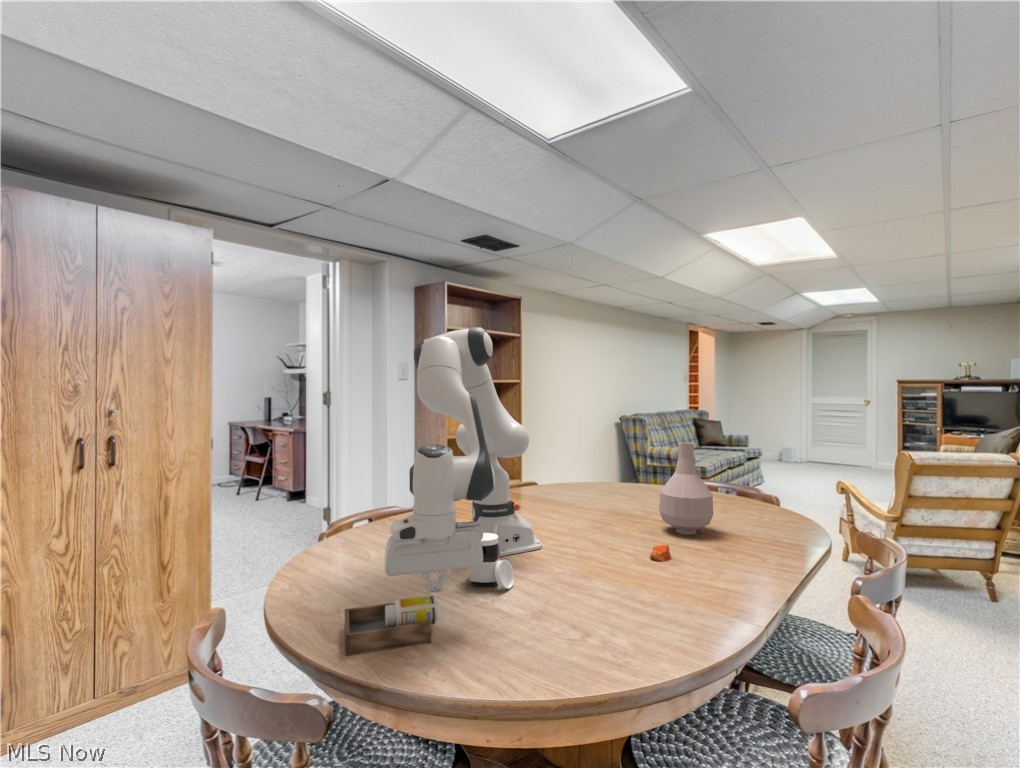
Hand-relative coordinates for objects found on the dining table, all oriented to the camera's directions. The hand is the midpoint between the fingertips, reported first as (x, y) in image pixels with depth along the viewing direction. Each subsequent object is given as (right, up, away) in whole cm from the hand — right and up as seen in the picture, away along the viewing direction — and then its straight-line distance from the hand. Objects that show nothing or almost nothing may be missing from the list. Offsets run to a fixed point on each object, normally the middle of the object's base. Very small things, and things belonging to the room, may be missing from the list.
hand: (434, 591), depth 108 cm
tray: (-9, -8, -3) cm, 12 cm away
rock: (+59, -8, +43) cm, 73 cm away
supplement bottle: (0, -4, 0) cm, 4 cm away
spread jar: (+11, -8, +23) cm, 27 cm away
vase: (+75, -7, +69) cm, 102 cm away
